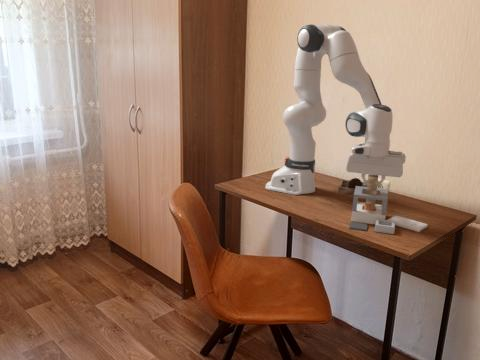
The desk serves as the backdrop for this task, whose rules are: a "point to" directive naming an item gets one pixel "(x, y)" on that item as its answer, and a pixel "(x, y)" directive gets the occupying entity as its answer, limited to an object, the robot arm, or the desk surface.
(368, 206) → the button
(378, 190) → the grey open box frame
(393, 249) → the desk surface
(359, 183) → the dark brown rounded lump
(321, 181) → the desk surface
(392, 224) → the grey square tray
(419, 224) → the external hard drive
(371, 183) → the tan rectangular block
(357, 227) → the pad
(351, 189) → the watch tray
